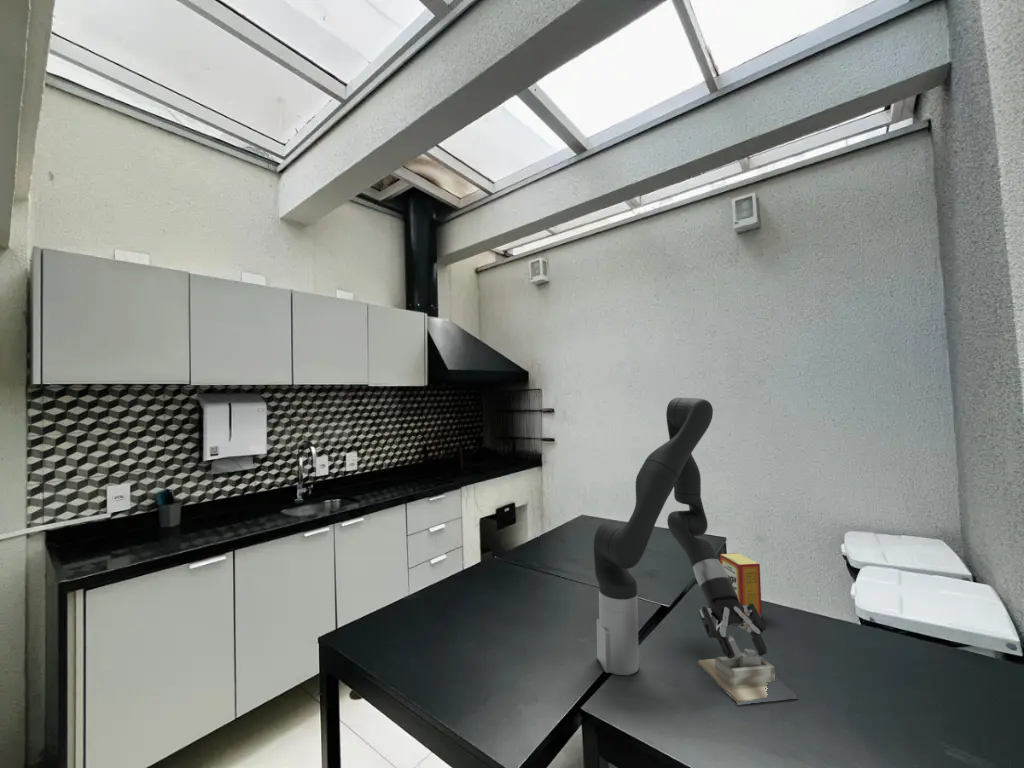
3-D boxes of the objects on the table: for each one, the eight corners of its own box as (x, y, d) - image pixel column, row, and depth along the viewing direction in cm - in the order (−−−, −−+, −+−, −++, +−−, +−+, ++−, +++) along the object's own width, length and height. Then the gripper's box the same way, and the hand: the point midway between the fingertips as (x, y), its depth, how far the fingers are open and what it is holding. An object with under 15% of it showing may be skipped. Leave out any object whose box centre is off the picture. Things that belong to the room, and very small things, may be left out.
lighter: (757, 672, 94) (757, 636, 94) (761, 677, 92) (761, 640, 93) (725, 669, 94) (725, 634, 95) (729, 674, 93) (728, 638, 93)
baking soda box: (721, 604, 130) (719, 552, 131) (740, 602, 131) (738, 551, 132) (741, 619, 121) (739, 563, 122) (761, 617, 121) (759, 562, 122)
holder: (738, 705, 85) (737, 685, 85) (698, 664, 99) (697, 647, 99) (797, 699, 87) (796, 679, 87) (750, 659, 101) (749, 642, 101)
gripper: (693, 577, 101) (726, 653, 89) (746, 574, 103) (785, 648, 91) (682, 589, 106) (711, 663, 94) (732, 586, 108) (767, 658, 96)
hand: (747, 656), depth 92 cm, fingers open, 7 cm apart
